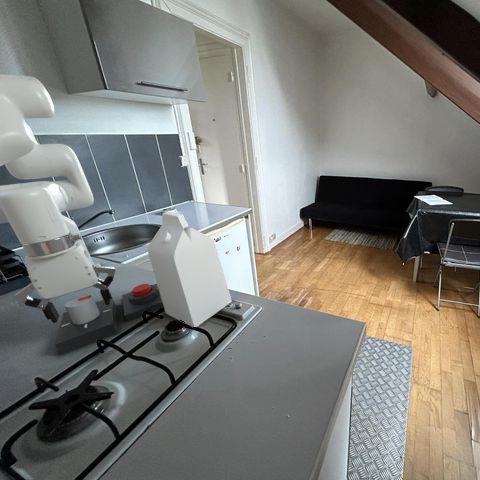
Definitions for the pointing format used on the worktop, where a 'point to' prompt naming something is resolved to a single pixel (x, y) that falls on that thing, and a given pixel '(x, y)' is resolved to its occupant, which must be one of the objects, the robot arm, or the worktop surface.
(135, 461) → the worktop surface
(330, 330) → the worktop surface
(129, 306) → the power block
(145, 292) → the power button
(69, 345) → the panel
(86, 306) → the knob
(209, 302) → the milk
